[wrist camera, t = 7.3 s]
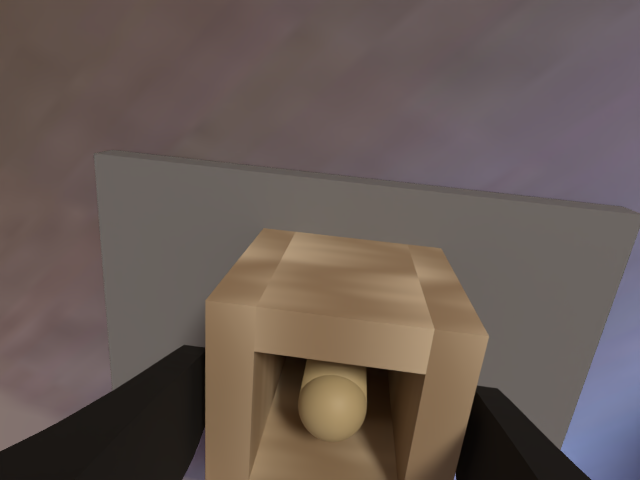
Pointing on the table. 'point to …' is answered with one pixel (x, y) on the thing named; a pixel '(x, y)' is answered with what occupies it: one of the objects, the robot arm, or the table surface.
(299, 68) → the table surface
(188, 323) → the grey peg stand
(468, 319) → the bead
